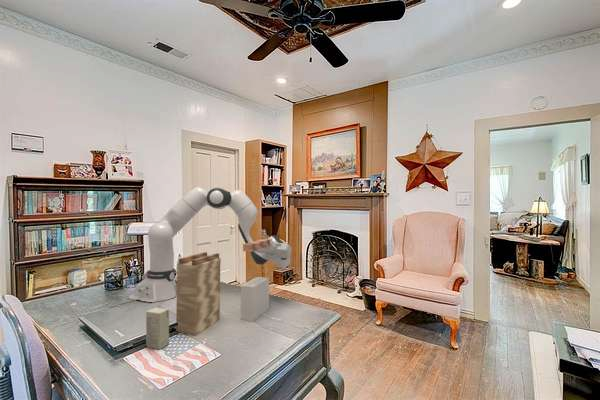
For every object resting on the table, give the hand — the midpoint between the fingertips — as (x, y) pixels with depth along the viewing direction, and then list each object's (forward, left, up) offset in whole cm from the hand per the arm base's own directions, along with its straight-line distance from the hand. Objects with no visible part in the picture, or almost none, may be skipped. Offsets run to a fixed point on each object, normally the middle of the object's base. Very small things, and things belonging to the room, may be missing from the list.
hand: (264, 241), depth 134 cm
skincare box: (-26, -41, -31) cm, 58 cm away
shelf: (-1, -8, -31) cm, 32 cm away
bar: (-1, -6, -2) cm, 7 cm away
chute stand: (-20, -24, -31) cm, 44 cm away
